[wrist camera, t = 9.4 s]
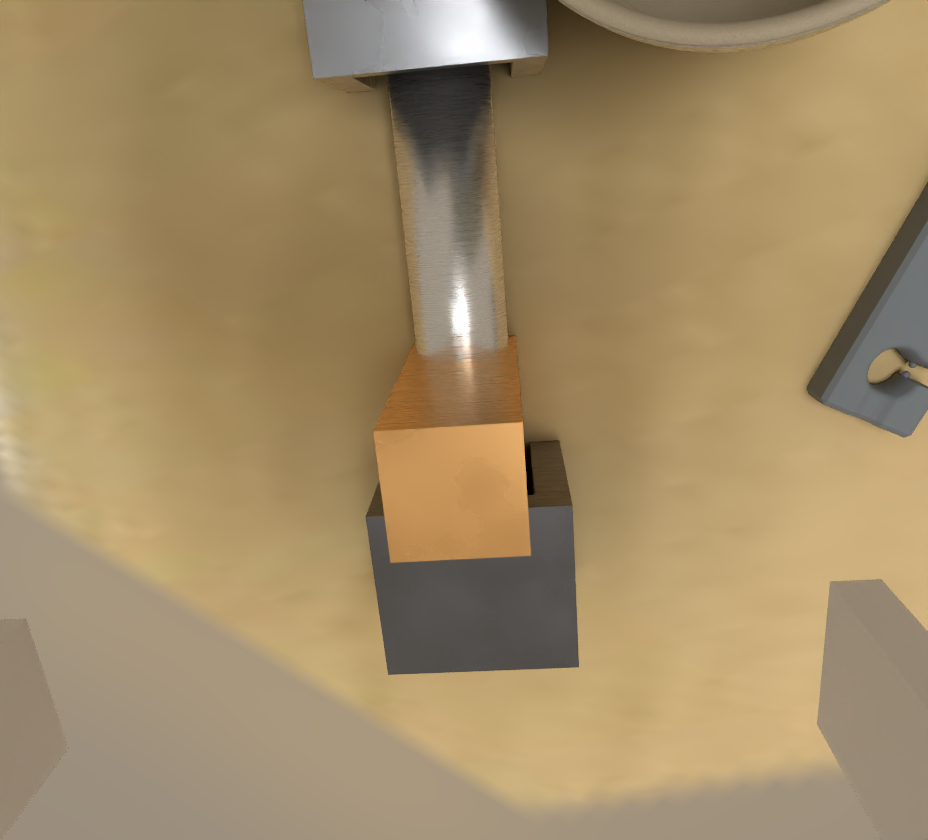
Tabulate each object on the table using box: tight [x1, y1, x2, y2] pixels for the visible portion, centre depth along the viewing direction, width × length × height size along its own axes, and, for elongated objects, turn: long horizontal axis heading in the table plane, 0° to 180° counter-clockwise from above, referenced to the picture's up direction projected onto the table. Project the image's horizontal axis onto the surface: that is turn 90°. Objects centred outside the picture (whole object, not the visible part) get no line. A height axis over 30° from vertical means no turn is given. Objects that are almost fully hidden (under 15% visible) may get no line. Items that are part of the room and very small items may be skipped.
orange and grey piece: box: [373, 64, 531, 563], centre depth 24 cm, size 19×4×10 cm, turn 5°
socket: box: [366, 441, 579, 675], centre depth 29 cm, size 6×7×6 cm
